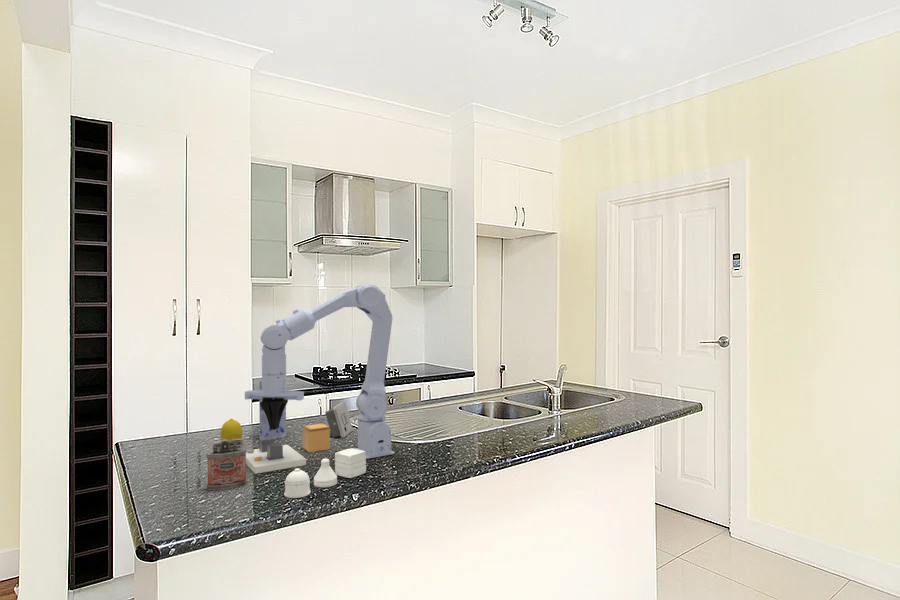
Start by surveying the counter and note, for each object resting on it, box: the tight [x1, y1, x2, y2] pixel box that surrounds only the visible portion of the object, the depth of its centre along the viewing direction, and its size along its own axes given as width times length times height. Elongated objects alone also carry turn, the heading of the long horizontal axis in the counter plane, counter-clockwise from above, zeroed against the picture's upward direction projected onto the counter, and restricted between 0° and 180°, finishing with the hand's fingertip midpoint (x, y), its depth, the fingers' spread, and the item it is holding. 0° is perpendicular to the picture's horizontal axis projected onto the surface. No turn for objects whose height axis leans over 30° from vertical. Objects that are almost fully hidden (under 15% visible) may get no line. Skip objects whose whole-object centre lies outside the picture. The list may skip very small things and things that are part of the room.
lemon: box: [220, 418, 243, 449], centre depth 148 cm, size 6×6×8 cm
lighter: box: [206, 438, 248, 491], centre depth 117 cm, size 8×3×10 cm, turn 114°
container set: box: [283, 447, 367, 499], centre depth 118 cm, size 20×5×6 cm, turn 144°
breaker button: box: [267, 442, 283, 460], centre depth 133 cm, size 3×3×3 cm
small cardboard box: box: [302, 422, 331, 453], centre depth 146 cm, size 6×6×6 cm
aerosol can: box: [258, 378, 288, 440], centre depth 161 cm, size 8×8×20 cm
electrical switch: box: [325, 401, 353, 439], centre depth 162 cm, size 9×5×9 cm, turn 174°
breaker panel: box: [246, 437, 307, 475], centre depth 135 cm, size 16×12×4 cm
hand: (274, 428), depth 133 cm, fingers closed
